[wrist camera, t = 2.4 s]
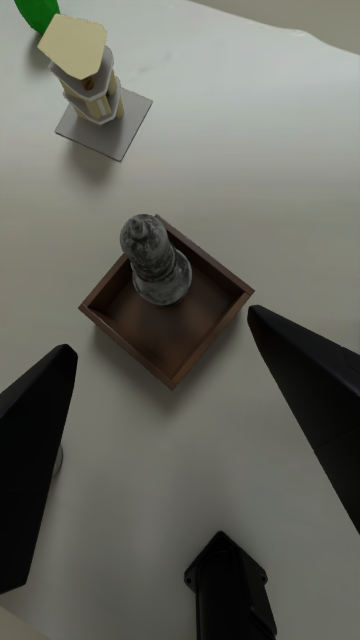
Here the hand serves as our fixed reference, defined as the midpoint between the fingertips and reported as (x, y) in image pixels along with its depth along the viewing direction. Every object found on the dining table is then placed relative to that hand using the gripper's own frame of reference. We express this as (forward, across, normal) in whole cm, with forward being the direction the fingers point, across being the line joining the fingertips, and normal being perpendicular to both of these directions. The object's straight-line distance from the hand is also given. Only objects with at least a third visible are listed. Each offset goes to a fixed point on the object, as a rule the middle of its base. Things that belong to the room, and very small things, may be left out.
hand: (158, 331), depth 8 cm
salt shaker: (+12, 0, +4) cm, 13 cm away
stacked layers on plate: (+29, +4, -12) cm, 31 cm away
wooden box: (+10, 0, +6) cm, 12 cm away
